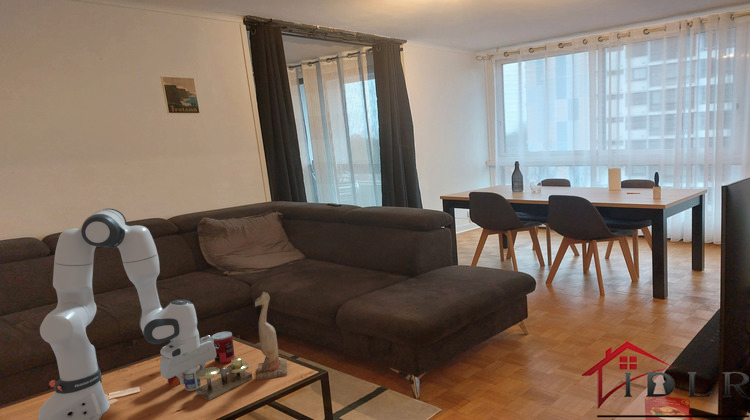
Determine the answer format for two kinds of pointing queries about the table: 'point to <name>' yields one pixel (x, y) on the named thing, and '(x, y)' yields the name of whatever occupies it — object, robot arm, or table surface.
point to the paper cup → (174, 379)
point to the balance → (223, 378)
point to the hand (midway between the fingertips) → (192, 379)
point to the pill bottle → (191, 379)
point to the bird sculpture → (268, 344)
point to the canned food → (223, 347)
